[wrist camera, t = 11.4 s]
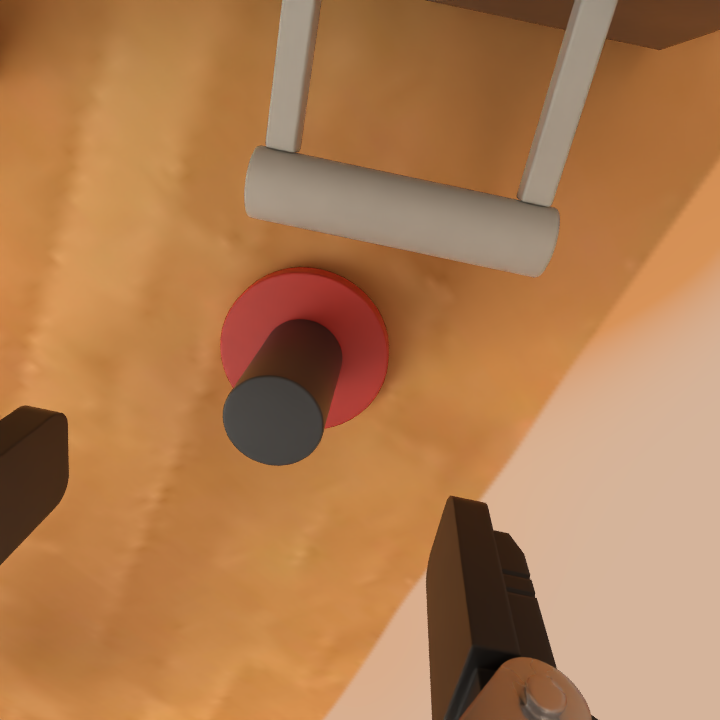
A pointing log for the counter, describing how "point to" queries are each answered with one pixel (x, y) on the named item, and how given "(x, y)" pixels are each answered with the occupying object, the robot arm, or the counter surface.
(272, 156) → the drawer
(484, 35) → the counter surface
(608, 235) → the counter surface
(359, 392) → the lid
